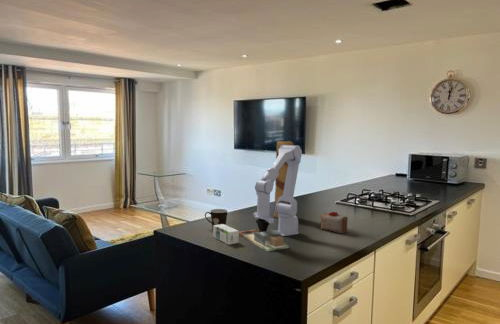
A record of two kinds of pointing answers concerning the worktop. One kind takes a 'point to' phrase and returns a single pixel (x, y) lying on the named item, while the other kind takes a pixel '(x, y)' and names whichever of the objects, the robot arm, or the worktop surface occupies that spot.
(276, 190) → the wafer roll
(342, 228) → the food item
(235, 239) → the syrup box
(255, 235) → the rail tunnel
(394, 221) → the worktop surface
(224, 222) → the coffee mug
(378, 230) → the worktop surface
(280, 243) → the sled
